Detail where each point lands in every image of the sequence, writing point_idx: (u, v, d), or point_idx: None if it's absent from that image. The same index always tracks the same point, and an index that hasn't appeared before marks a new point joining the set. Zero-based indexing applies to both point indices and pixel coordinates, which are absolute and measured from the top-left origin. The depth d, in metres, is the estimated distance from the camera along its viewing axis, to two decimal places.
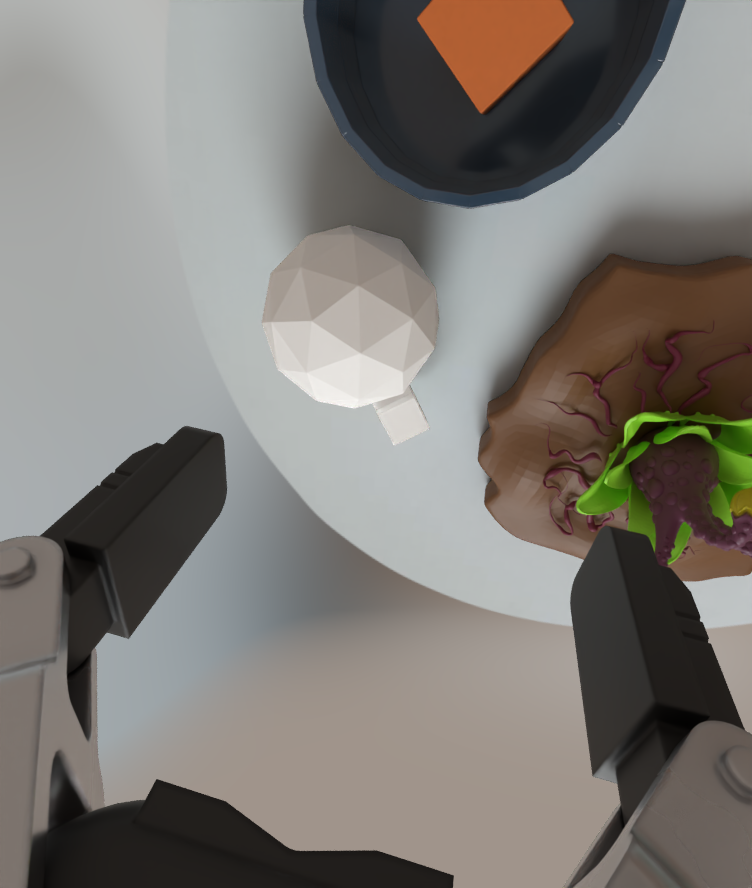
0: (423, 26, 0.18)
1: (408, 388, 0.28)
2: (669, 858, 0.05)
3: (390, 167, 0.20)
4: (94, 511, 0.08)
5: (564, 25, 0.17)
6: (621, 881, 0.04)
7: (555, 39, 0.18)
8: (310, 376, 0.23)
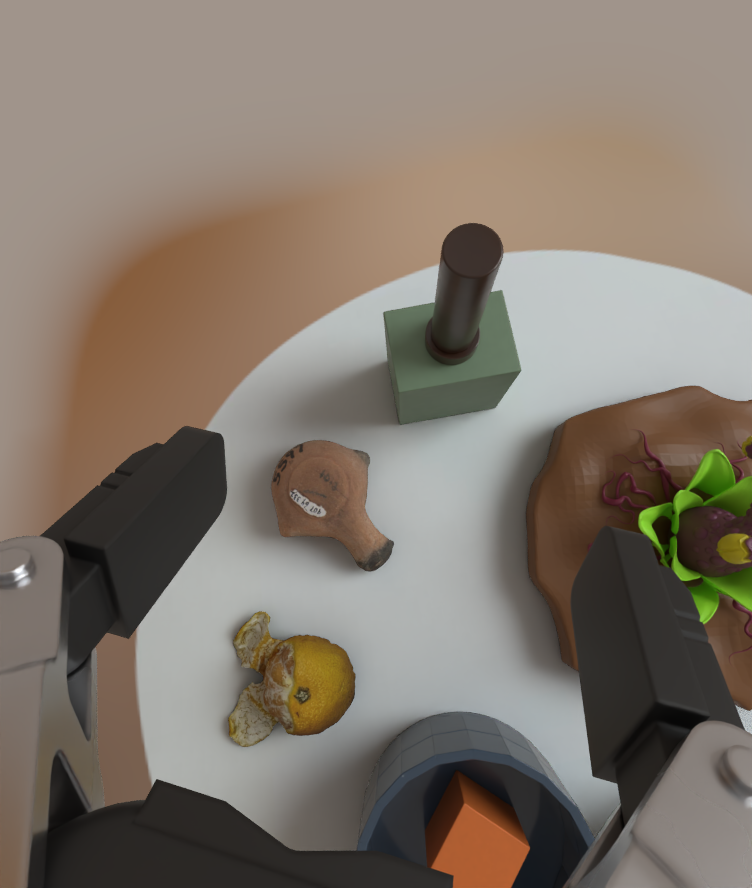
0: None
1: None
2: (669, 858, 0.05)
3: None
4: (94, 511, 0.08)
5: (467, 809, 0.27)
6: (621, 881, 0.04)
7: (475, 811, 0.27)
8: None
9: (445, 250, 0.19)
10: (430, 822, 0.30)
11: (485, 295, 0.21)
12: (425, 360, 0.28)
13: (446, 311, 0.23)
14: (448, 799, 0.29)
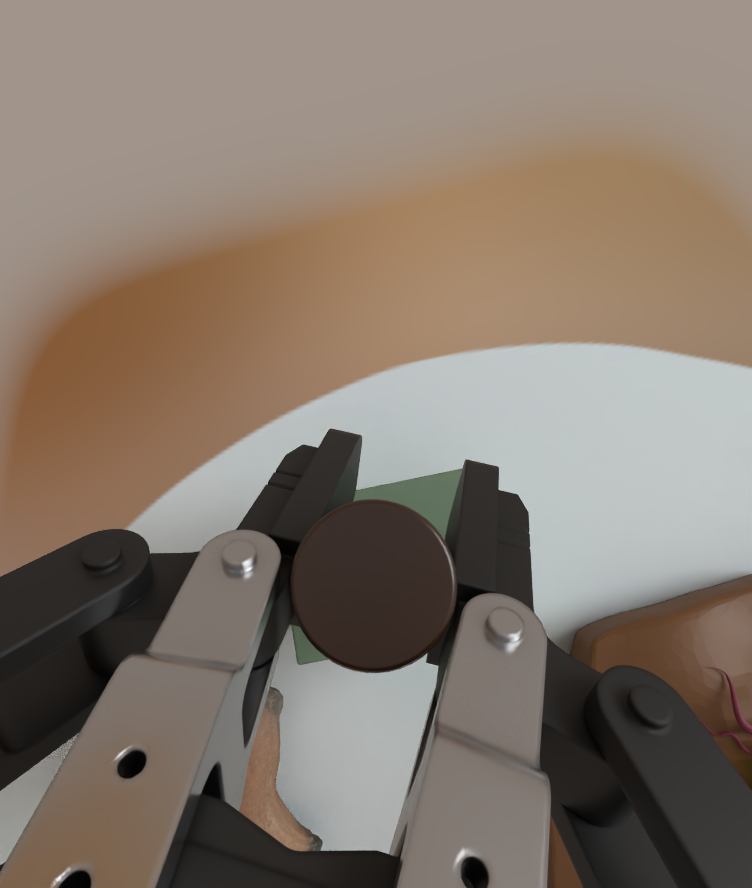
0: None
1: None
2: (467, 726, 0.06)
3: None
4: (284, 508, 0.08)
5: None
6: (433, 772, 0.05)
7: None
8: None
9: (297, 583, 0.07)
10: None
11: None
12: None
13: None
14: None
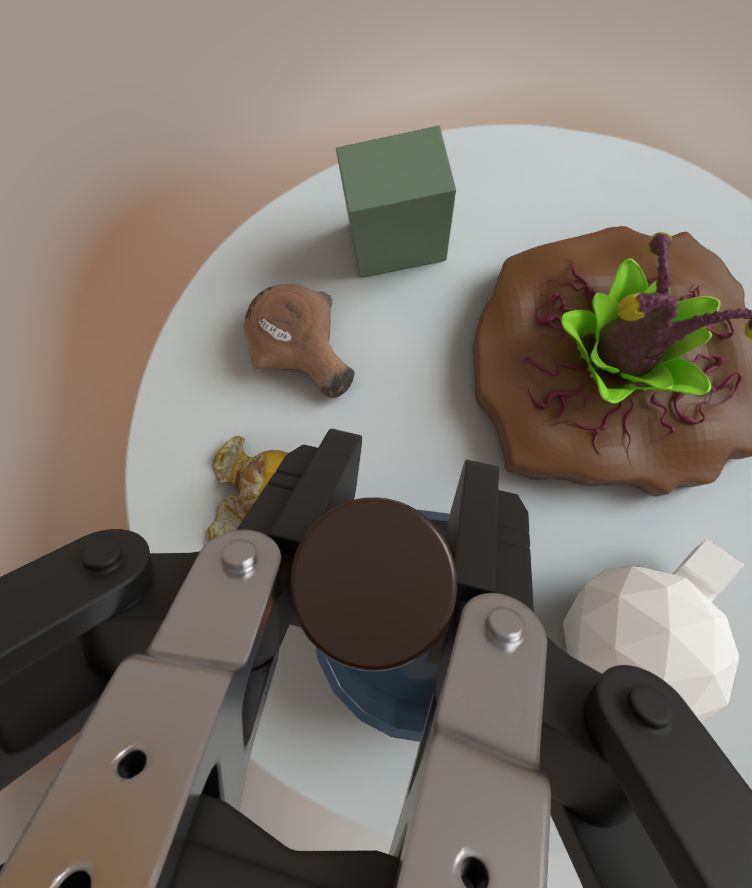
0: None
1: (679, 572, 0.30)
2: (467, 726, 0.06)
3: None
4: (284, 509, 0.08)
5: None
6: (433, 772, 0.05)
7: None
8: (716, 670, 0.25)
9: (297, 581, 0.07)
10: None
11: None
12: (372, 185, 0.32)
13: None
14: None
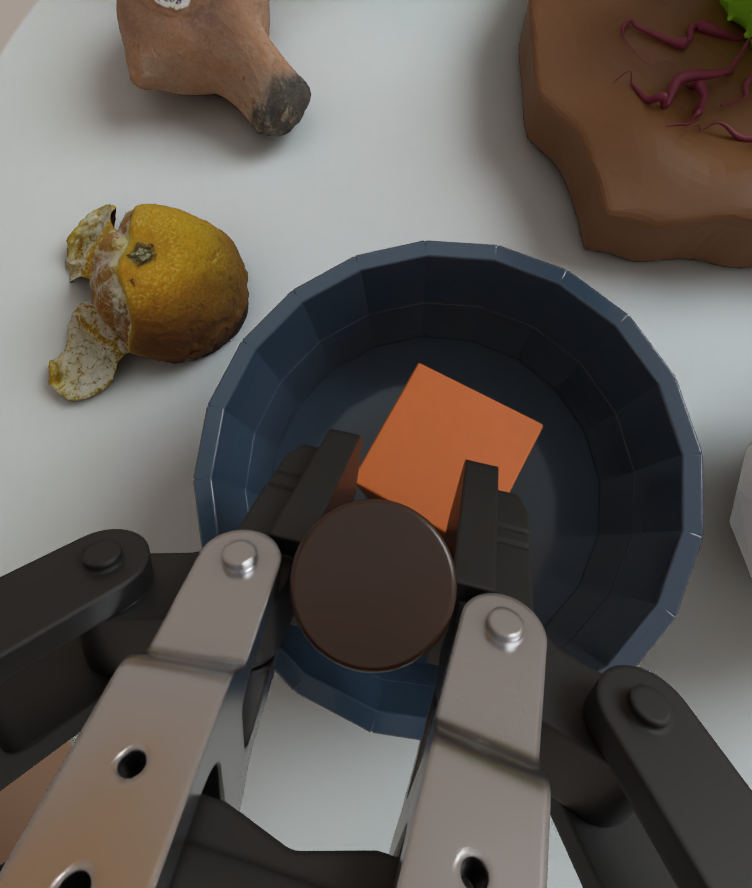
0: None
1: None
2: (467, 726, 0.06)
3: (679, 521, 0.12)
4: (284, 508, 0.08)
5: (425, 370, 0.14)
6: (433, 772, 0.05)
7: (440, 374, 0.14)
8: None
9: (297, 583, 0.07)
10: None
11: None
12: None
13: None
14: None
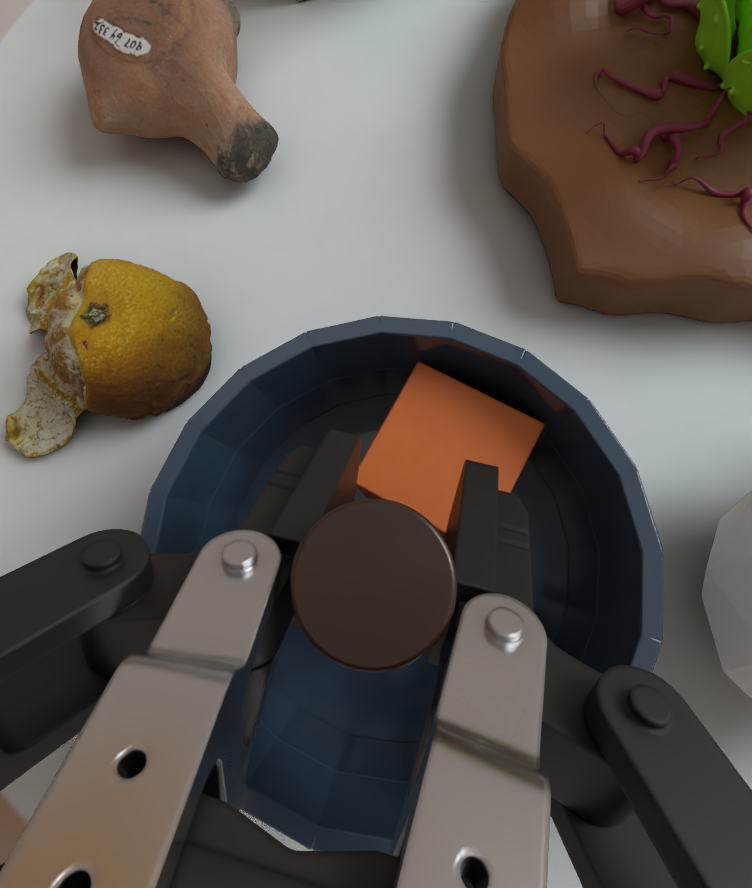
0: None
1: None
2: (467, 726, 0.06)
3: (638, 623, 0.11)
4: (284, 508, 0.08)
5: (424, 369, 0.14)
6: (433, 772, 0.05)
7: (439, 372, 0.14)
8: None
9: (297, 583, 0.07)
10: None
11: None
12: None
13: None
14: None
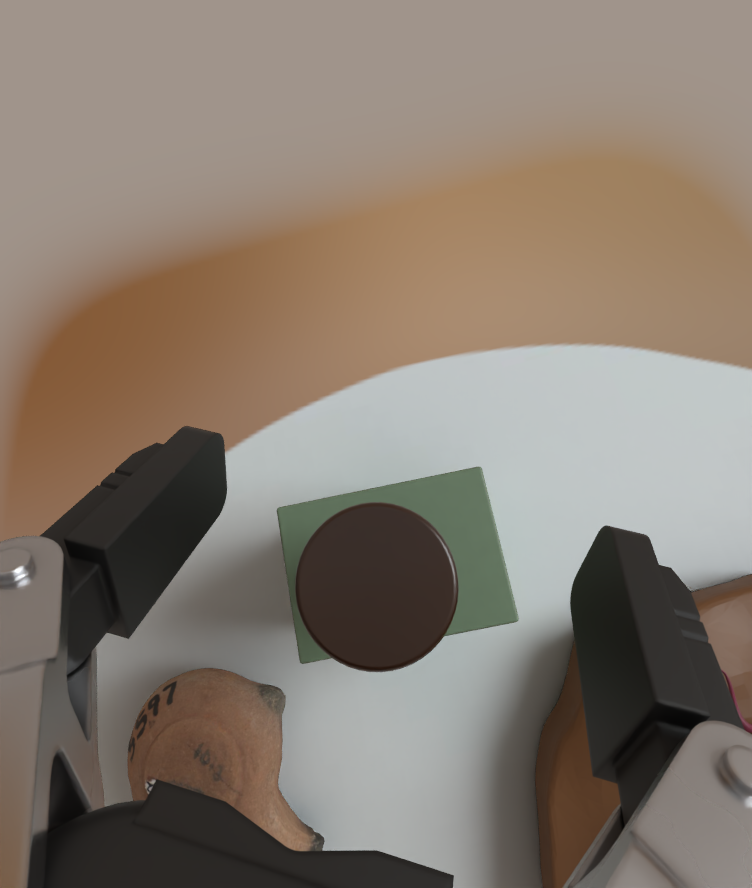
0: None
1: None
2: (669, 858, 0.05)
3: None
4: (94, 511, 0.08)
5: None
6: (621, 881, 0.04)
7: None
8: None
9: (302, 584, 0.07)
10: None
11: None
12: None
13: None
14: None
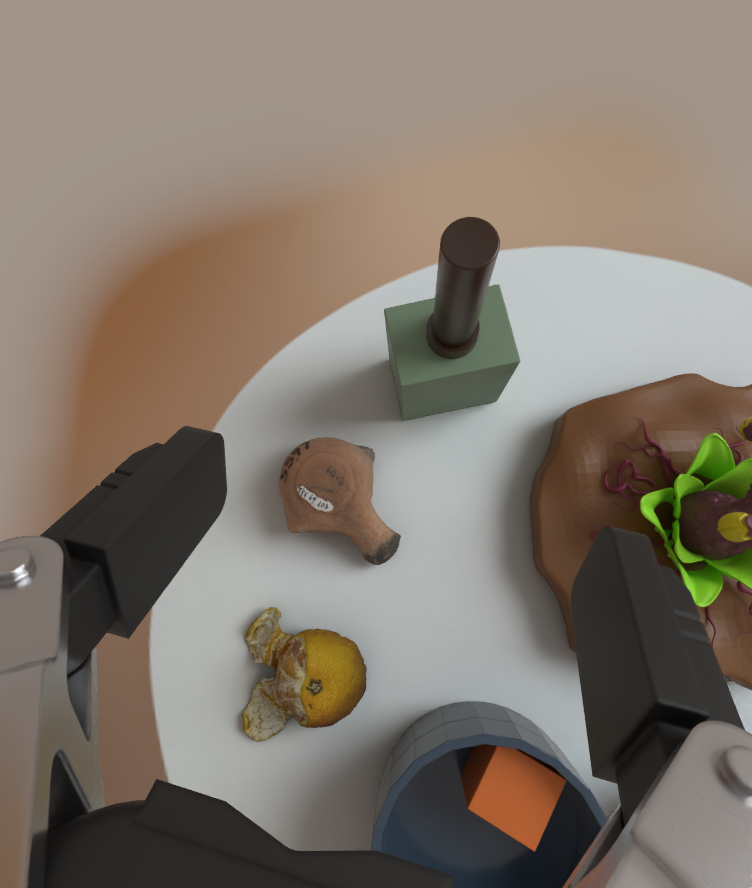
0: (537, 845, 0.26)
1: None
2: (669, 858, 0.05)
3: None
4: (94, 511, 0.08)
5: None
6: (622, 881, 0.04)
7: None
8: None
9: (443, 243, 0.20)
10: (465, 766, 0.31)
11: (484, 287, 0.22)
12: (426, 354, 0.29)
13: (446, 304, 0.23)
14: None
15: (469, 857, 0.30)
